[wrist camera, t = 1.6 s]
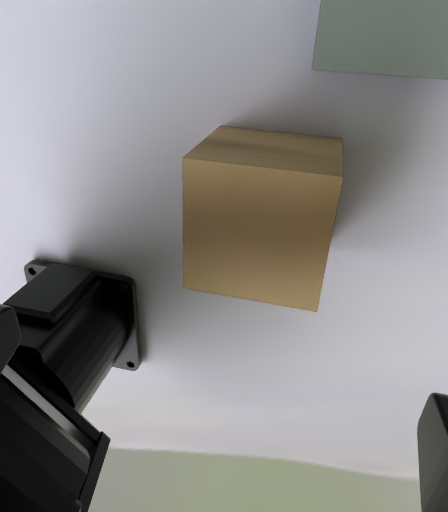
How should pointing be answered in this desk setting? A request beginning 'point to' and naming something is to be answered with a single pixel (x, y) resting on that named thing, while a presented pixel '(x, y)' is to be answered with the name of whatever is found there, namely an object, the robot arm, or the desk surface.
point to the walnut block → (260, 214)
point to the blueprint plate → (383, 37)
